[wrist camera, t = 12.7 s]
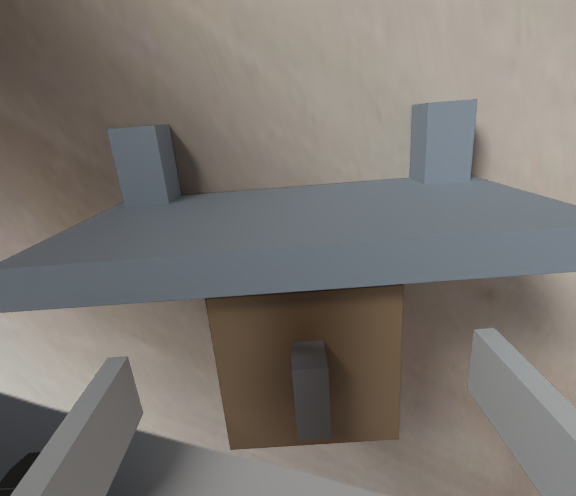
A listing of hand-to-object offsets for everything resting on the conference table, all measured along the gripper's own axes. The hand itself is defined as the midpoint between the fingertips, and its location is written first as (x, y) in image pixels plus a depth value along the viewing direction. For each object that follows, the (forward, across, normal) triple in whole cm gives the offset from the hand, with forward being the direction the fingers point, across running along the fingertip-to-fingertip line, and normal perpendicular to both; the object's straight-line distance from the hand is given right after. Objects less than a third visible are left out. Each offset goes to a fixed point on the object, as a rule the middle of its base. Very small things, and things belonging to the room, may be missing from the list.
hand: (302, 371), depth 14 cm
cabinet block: (+10, 0, 0) cm, 10 cm away
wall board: (+10, +1, +7) cm, 12 cm away
